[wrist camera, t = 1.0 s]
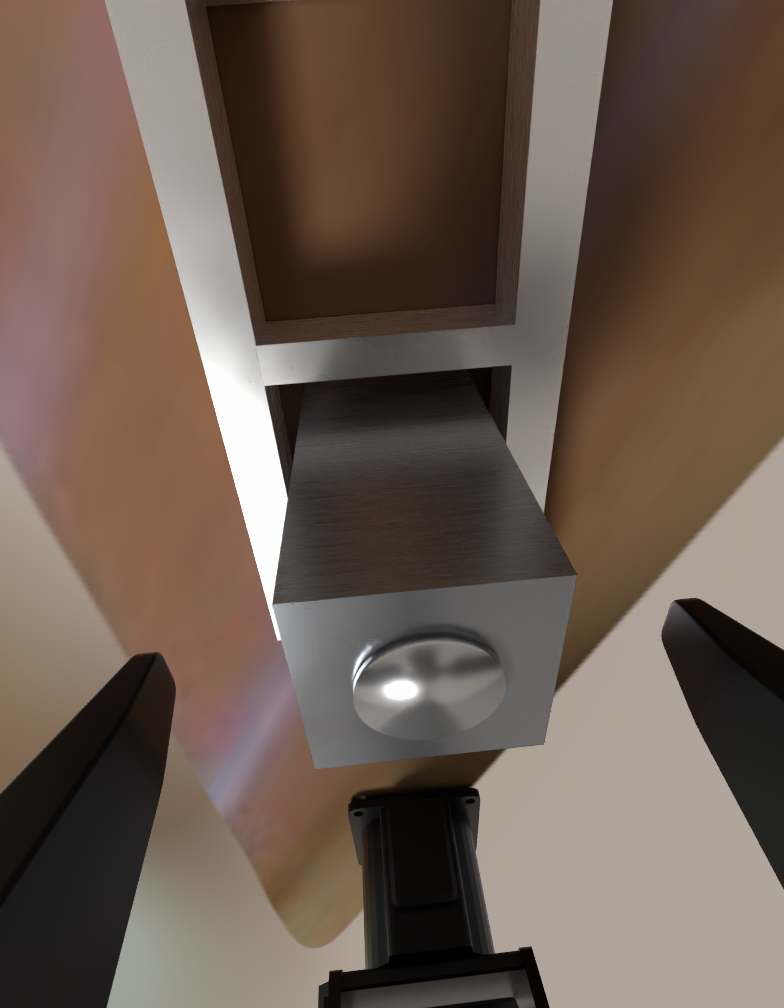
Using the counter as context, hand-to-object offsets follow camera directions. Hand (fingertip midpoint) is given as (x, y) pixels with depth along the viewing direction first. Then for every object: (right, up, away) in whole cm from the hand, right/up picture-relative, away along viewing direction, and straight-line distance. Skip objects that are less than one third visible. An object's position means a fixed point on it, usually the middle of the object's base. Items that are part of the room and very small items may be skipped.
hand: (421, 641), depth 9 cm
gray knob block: (-1, +4, +6) cm, 7 cm away
